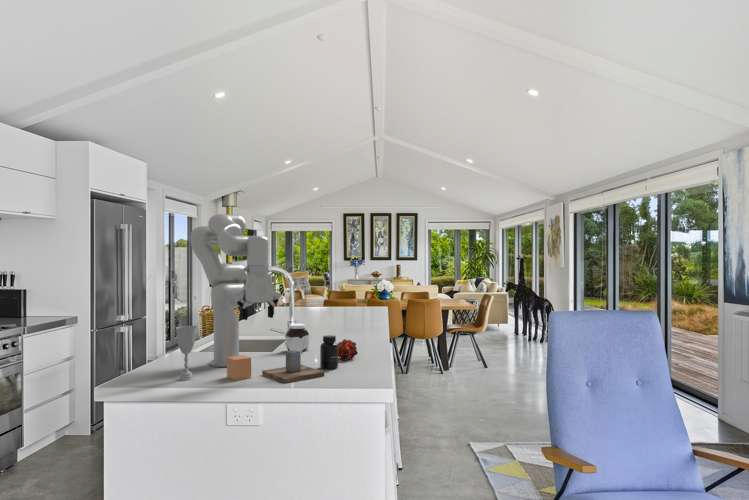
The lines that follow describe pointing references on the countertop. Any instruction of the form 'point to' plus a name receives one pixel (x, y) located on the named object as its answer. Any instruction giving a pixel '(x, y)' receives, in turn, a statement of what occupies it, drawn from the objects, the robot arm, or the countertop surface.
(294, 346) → the spread jar
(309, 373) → the walnut board
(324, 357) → the supplement bottle
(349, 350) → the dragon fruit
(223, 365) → the robot arm
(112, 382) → the countertop surface
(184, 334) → the chalice
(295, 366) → the metal post
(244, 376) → the peach colored cube
